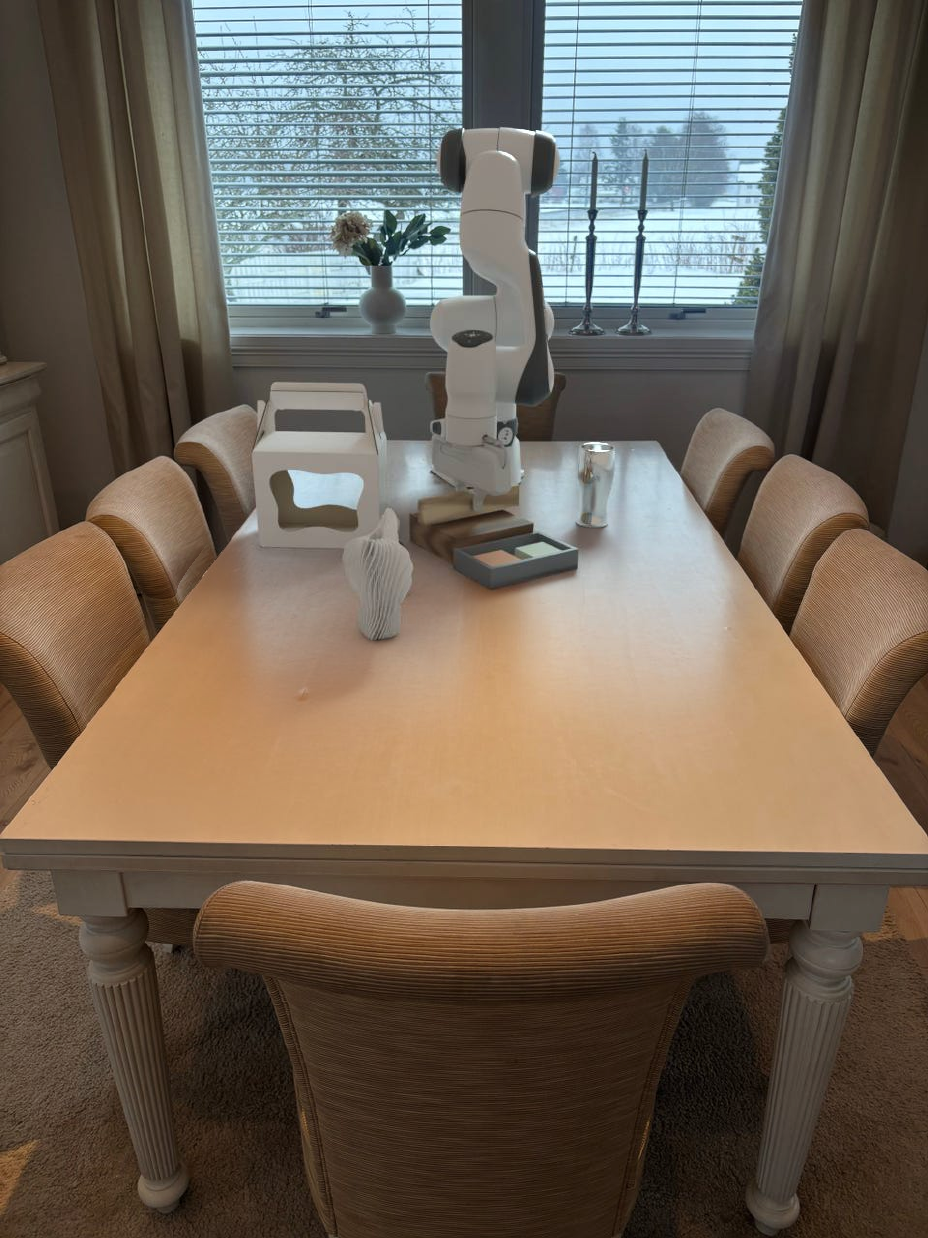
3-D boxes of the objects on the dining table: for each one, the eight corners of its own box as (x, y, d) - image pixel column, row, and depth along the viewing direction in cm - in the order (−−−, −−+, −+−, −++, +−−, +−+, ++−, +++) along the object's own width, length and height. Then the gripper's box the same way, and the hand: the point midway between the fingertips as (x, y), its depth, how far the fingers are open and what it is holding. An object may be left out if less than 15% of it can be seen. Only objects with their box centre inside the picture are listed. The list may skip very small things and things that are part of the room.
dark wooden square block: (409, 540, 170) (409, 513, 168) (481, 525, 178) (482, 500, 176) (457, 566, 158) (457, 539, 156) (532, 549, 166) (533, 523, 164)
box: (453, 568, 157) (453, 549, 156) (538, 549, 166) (538, 530, 165) (490, 589, 149) (491, 569, 147) (577, 568, 158) (578, 548, 156)
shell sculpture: (365, 652, 128) (360, 528, 120) (343, 629, 134) (338, 510, 127) (419, 641, 131) (418, 519, 124) (396, 619, 138) (393, 502, 131)
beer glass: (609, 518, 183) (615, 442, 177) (610, 529, 177) (616, 451, 171) (573, 516, 184) (578, 441, 177) (574, 528, 177) (578, 450, 171)
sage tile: (536, 558, 154) (536, 569, 155) (564, 551, 157) (564, 562, 158) (514, 547, 159) (514, 558, 159) (542, 541, 162) (542, 552, 162)
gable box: (258, 547, 166) (244, 388, 154) (273, 524, 178) (262, 374, 166) (382, 550, 165) (377, 390, 154) (389, 526, 177) (386, 376, 166)
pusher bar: (418, 521, 162) (418, 499, 161) (510, 502, 172) (511, 481, 171) (425, 525, 160) (425, 503, 159) (518, 506, 171) (519, 484, 169)
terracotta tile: (492, 567, 150) (492, 578, 151) (522, 560, 153) (522, 571, 154) (472, 556, 155) (472, 567, 156) (501, 549, 158) (501, 560, 159)
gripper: (521, 440, 154) (519, 519, 160) (454, 416, 169) (453, 489, 175) (490, 445, 151) (488, 526, 156) (424, 420, 166) (425, 495, 172)
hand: (469, 506), depth 166 cm, fingers closed on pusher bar, 2 cm apart
